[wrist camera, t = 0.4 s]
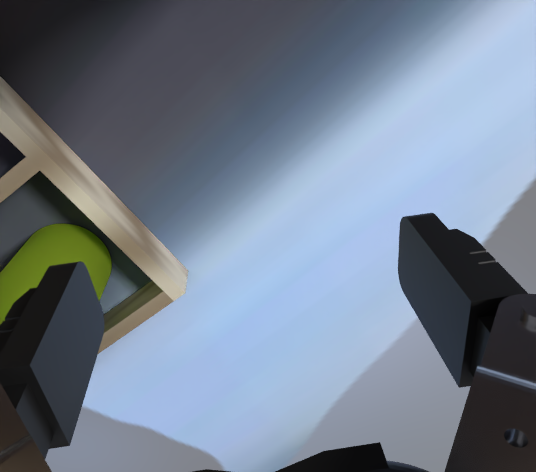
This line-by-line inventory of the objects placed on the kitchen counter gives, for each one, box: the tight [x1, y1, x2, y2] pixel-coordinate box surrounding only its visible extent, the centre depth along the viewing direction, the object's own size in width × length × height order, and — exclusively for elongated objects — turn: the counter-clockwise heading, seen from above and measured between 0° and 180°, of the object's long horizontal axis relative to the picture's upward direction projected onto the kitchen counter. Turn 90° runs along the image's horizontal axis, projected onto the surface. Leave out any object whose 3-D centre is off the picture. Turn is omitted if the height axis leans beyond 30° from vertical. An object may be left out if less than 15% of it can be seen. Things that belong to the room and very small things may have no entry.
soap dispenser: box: [0, 224, 112, 325], centre depth 24 cm, size 6×7×20 cm
